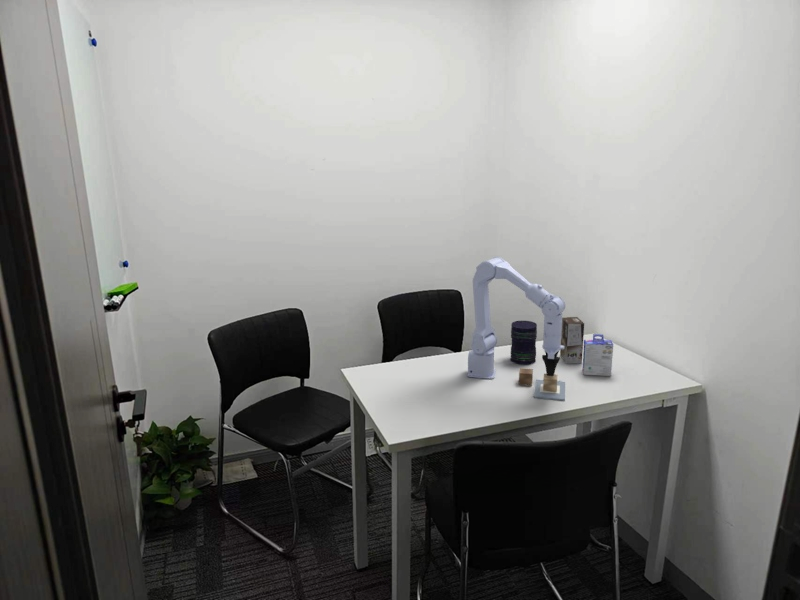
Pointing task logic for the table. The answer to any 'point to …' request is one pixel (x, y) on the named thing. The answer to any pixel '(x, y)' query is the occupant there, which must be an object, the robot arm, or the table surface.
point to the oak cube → (550, 383)
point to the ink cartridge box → (597, 356)
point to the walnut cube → (525, 376)
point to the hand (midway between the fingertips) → (550, 371)
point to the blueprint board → (547, 394)
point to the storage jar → (523, 342)
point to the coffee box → (572, 339)
